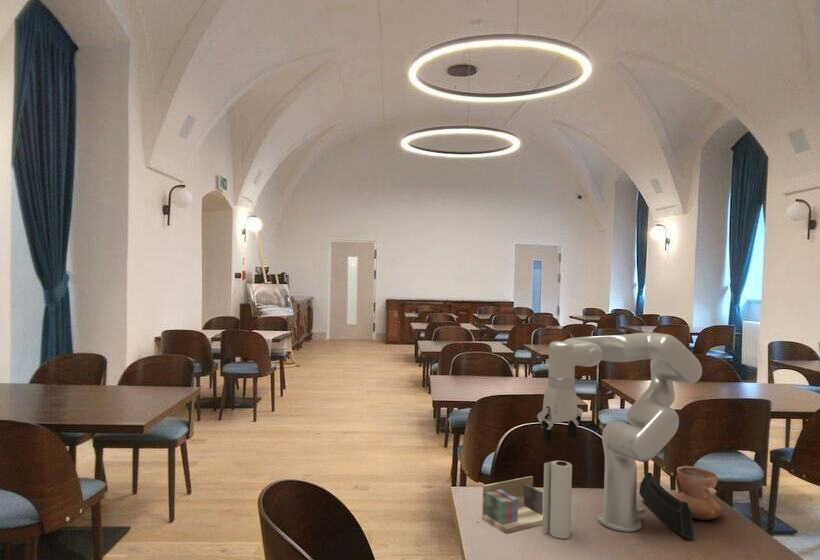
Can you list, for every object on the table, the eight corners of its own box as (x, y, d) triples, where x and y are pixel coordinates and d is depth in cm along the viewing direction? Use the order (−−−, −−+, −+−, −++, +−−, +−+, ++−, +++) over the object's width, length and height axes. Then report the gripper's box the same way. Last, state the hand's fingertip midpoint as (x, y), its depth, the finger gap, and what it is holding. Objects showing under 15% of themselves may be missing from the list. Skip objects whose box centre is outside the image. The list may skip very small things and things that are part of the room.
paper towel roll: (573, 534, 167) (575, 463, 167) (565, 541, 162) (566, 467, 162) (551, 527, 172) (553, 457, 172) (542, 533, 167) (544, 462, 167)
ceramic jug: (734, 525, 176) (735, 480, 177) (692, 526, 174) (693, 480, 175) (697, 503, 194) (698, 462, 194) (659, 504, 192) (660, 462, 193)
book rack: (482, 518, 177) (482, 485, 177) (530, 507, 187) (531, 475, 187) (506, 533, 166) (507, 498, 166) (556, 521, 176) (557, 487, 176)
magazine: (699, 514, 162) (654, 453, 191) (688, 514, 162) (645, 453, 191) (689, 562, 167) (647, 496, 196) (678, 562, 167) (637, 496, 196)
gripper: (573, 379, 175) (571, 433, 175) (530, 382, 166) (529, 440, 166) (591, 383, 168) (590, 440, 168) (548, 387, 160) (546, 447, 160)
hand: (559, 440), depth 167 cm, fingers open, 9 cm apart
